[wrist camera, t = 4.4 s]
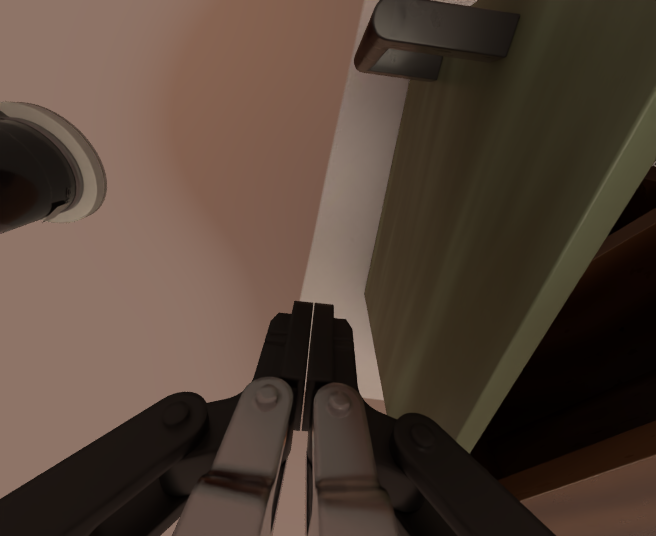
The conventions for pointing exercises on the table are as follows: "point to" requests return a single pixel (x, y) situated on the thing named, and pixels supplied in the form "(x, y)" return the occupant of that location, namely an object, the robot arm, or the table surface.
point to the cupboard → (590, 396)
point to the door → (498, 185)
